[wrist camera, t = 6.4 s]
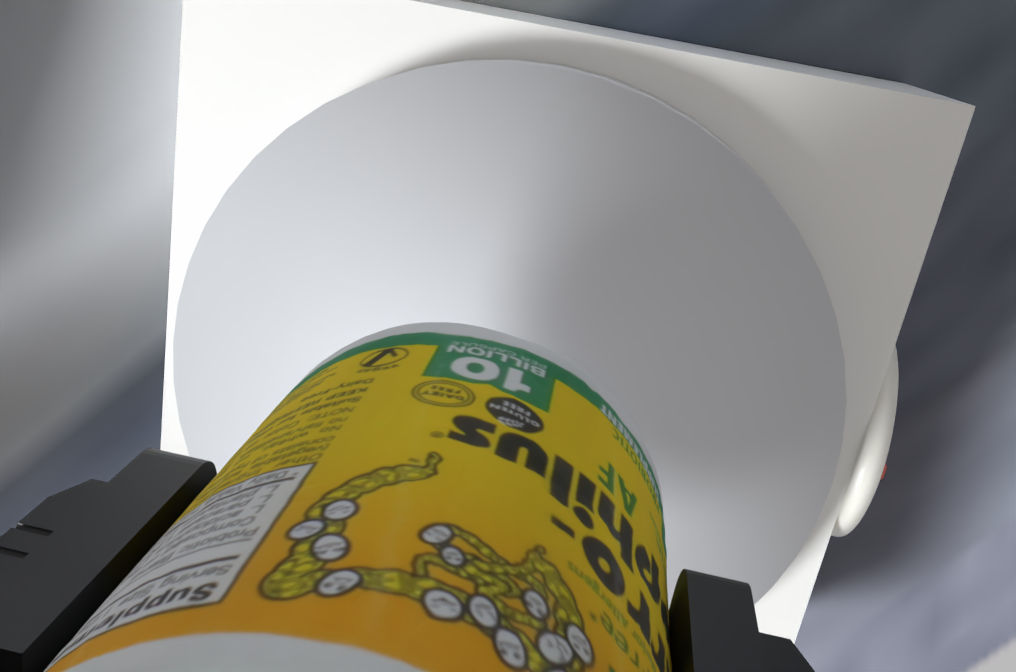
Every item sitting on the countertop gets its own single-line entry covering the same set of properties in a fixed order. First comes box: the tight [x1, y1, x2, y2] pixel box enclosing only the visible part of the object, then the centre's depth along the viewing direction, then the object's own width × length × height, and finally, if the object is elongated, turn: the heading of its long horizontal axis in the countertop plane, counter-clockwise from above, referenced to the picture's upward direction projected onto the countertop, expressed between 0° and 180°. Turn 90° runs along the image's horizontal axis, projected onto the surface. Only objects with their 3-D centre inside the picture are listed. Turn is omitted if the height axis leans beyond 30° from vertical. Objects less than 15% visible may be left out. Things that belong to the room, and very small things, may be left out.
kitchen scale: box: [161, 0, 976, 643], centre depth 18 cm, size 12×12×5 cm
